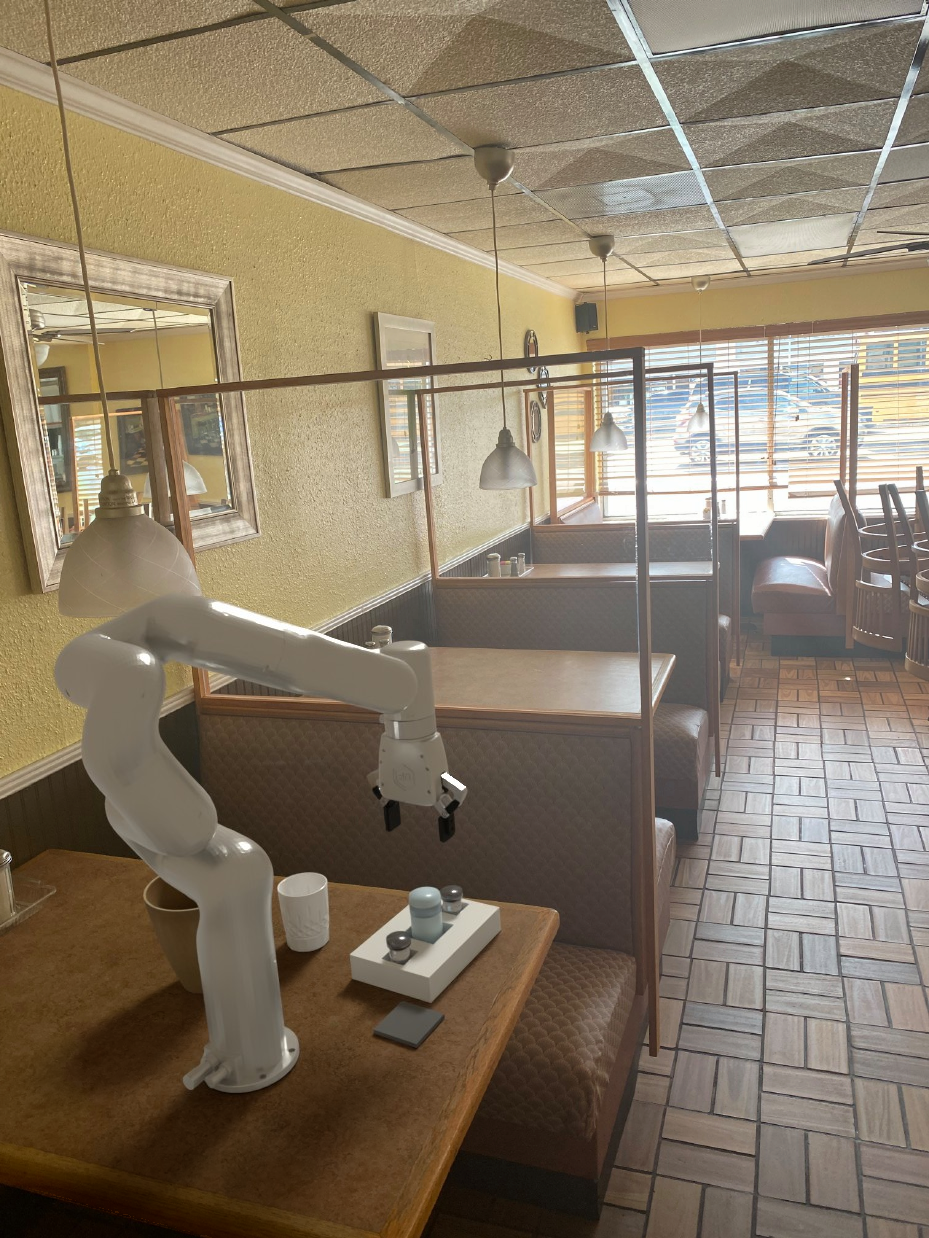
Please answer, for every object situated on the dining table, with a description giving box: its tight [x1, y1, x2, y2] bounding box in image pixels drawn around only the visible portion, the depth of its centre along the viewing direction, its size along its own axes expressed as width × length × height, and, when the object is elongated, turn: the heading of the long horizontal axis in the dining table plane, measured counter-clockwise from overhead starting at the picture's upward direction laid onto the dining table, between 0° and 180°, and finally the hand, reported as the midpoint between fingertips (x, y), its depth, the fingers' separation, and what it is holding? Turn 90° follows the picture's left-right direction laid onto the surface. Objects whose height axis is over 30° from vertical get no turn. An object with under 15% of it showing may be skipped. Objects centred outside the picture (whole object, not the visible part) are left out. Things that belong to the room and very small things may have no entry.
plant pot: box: [142, 875, 203, 994], centre depth 138 cm, size 15×15×16 cm
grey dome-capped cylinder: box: [386, 931, 411, 965], centre depth 135 cm, size 4×4×6 cm
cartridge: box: [408, 886, 443, 944], centre depth 141 cm, size 5×5×10 cm
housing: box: [349, 897, 502, 1004], centre depth 142 cm, size 21×14×4 cm, turn 150°
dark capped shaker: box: [439, 884, 464, 916], centre depth 148 cm, size 4×4×6 cm
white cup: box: [276, 872, 330, 953], centre depth 147 cm, size 8×8×10 cm
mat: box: [372, 1000, 445, 1049], centre depth 125 cm, size 7×7×1 cm
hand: (420, 833), depth 138 cm, fingers open, 9 cm apart
